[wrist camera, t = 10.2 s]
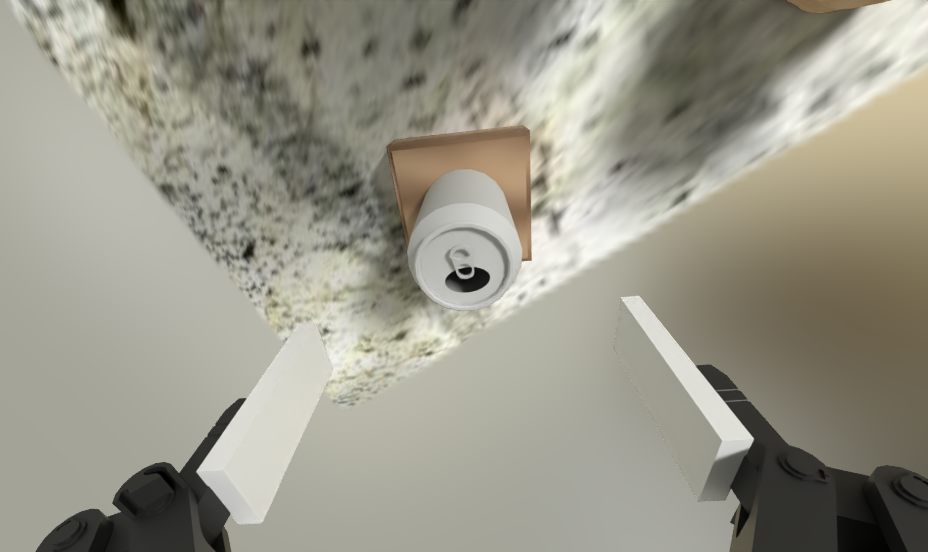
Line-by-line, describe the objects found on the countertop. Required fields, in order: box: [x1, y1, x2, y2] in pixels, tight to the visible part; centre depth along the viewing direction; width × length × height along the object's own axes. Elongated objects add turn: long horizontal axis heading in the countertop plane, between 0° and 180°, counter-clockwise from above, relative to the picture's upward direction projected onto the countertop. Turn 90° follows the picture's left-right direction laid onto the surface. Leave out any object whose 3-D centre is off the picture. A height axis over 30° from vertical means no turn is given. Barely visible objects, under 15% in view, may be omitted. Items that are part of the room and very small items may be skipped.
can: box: [407, 169, 522, 311], centre depth 26 cm, size 8×8×12 cm
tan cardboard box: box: [386, 125, 532, 261], centre depth 33 cm, size 12×12×4 cm
